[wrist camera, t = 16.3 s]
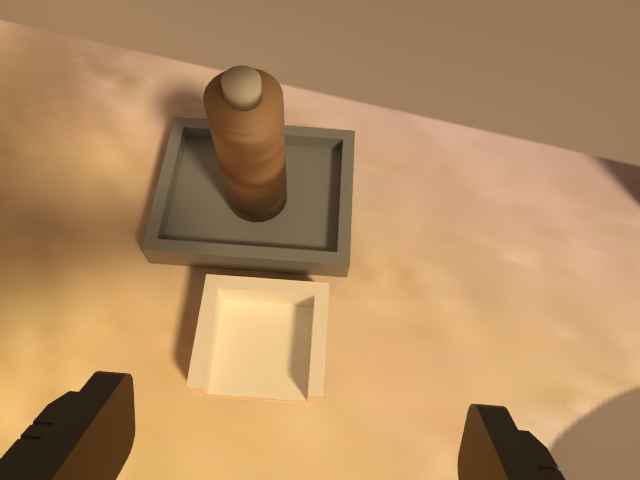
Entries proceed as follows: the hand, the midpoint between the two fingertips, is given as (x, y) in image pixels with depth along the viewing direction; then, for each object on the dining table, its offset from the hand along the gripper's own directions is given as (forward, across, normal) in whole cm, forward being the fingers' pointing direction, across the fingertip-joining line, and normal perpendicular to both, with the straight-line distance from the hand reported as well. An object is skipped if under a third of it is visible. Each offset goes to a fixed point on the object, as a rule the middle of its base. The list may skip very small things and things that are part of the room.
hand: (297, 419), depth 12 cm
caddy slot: (+22, +3, +12) cm, 26 cm away
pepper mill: (+31, +5, +2) cm, 31 cm away
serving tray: (+32, +6, +3) cm, 32 cm away
